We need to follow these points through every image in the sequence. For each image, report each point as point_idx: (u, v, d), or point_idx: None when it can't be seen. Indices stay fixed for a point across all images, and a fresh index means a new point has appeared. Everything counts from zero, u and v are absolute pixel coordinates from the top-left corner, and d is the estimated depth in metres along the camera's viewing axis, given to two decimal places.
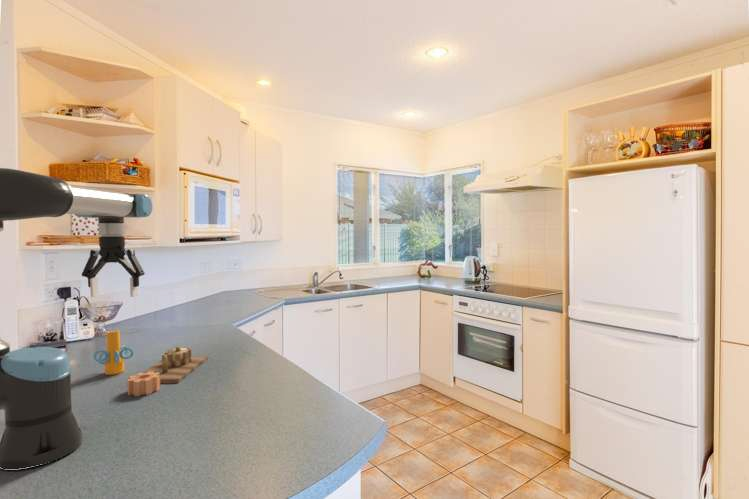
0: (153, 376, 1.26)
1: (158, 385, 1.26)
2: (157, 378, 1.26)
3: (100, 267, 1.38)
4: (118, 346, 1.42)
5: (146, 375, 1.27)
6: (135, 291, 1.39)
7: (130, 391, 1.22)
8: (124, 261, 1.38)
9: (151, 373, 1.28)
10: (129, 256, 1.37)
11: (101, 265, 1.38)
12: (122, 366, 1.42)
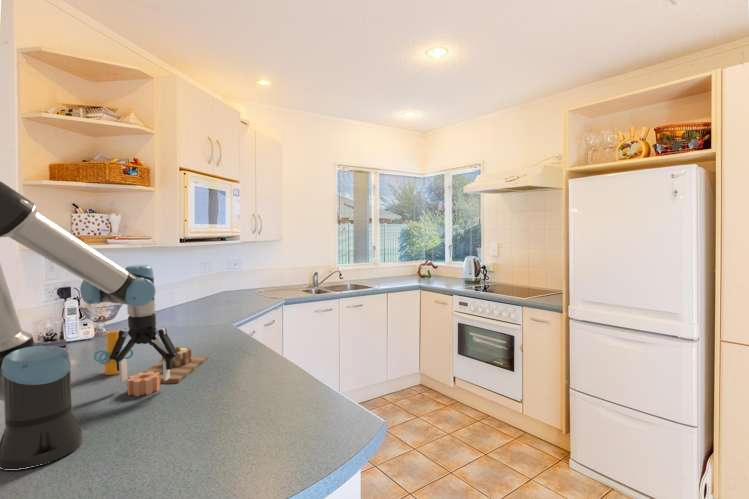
0: (153, 376, 1.26)
1: (158, 385, 1.26)
2: (157, 378, 1.26)
3: (129, 348, 1.26)
4: None
5: (146, 375, 1.27)
6: (168, 373, 1.27)
7: (130, 391, 1.22)
8: (156, 342, 1.25)
9: (151, 373, 1.28)
10: (161, 337, 1.24)
11: (130, 346, 1.25)
12: None
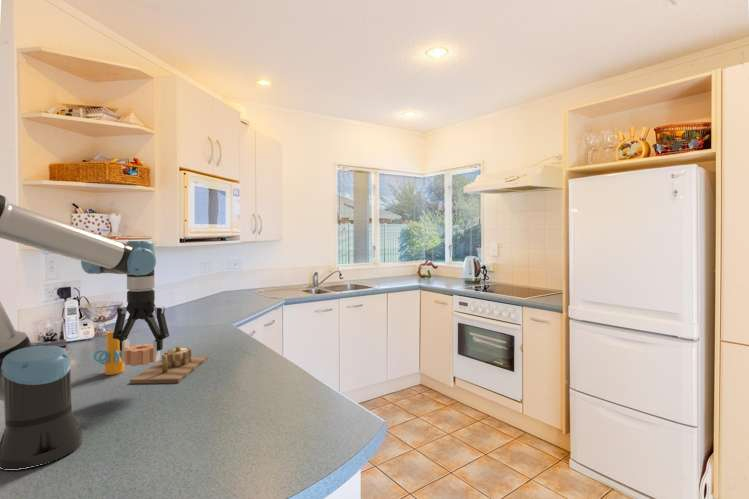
0: (150, 347, 1.25)
1: None
2: None
3: (131, 326, 1.25)
4: (118, 346, 1.42)
5: (143, 347, 1.27)
6: (158, 355, 1.25)
7: (127, 361, 1.21)
8: (151, 320, 1.24)
9: (148, 345, 1.28)
10: (158, 315, 1.24)
11: (131, 323, 1.24)
12: (122, 366, 1.42)
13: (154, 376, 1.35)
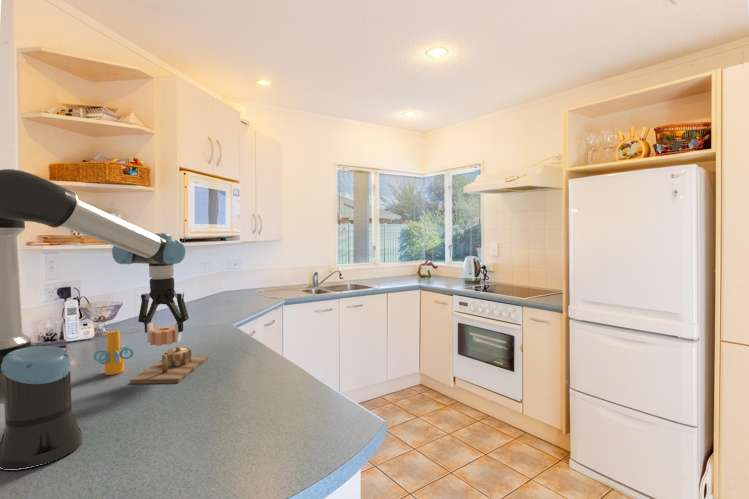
0: (172, 329, 1.38)
1: None
2: None
3: (154, 310, 1.38)
4: (118, 346, 1.42)
5: (166, 328, 1.40)
6: (179, 336, 1.39)
7: (152, 341, 1.35)
8: (172, 304, 1.38)
9: (170, 327, 1.41)
10: (178, 300, 1.37)
11: (154, 308, 1.38)
12: (122, 366, 1.42)
13: (154, 376, 1.35)
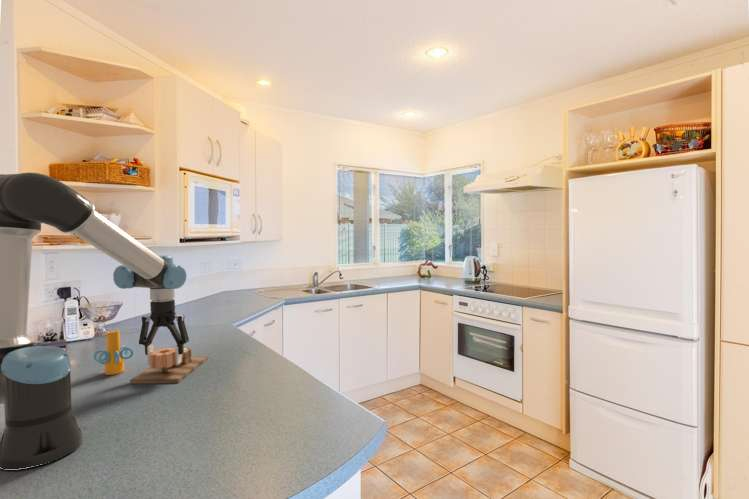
0: (173, 351, 1.39)
1: None
2: None
3: (154, 332, 1.38)
4: (118, 346, 1.42)
5: (166, 350, 1.40)
6: (180, 358, 1.39)
7: (152, 364, 1.35)
8: (173, 327, 1.38)
9: (171, 349, 1.41)
10: (179, 323, 1.37)
11: (155, 330, 1.38)
12: (122, 366, 1.42)
13: (154, 376, 1.35)
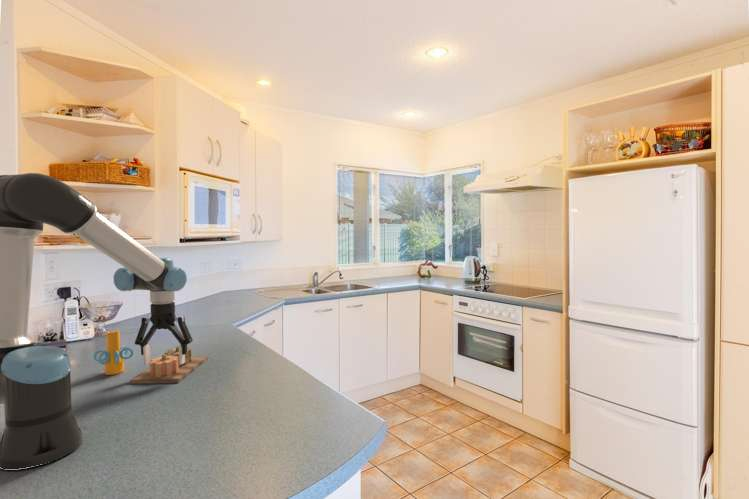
0: (173, 359, 1.39)
1: (177, 367, 1.39)
2: (176, 361, 1.39)
3: (152, 334, 1.38)
4: (118, 346, 1.42)
5: None
6: (183, 358, 1.39)
7: (152, 372, 1.35)
8: (174, 328, 1.38)
9: (170, 357, 1.41)
10: (180, 324, 1.37)
11: (153, 332, 1.38)
12: (122, 366, 1.42)
13: (154, 376, 1.35)
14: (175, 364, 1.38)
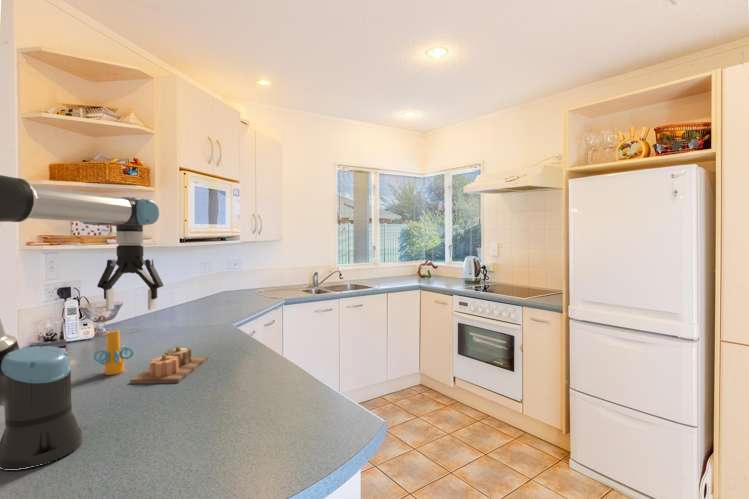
0: (173, 359, 1.39)
1: (177, 367, 1.39)
2: (176, 361, 1.39)
3: (117, 278, 1.30)
4: (118, 346, 1.42)
5: None
6: (153, 304, 1.31)
7: (152, 372, 1.35)
8: (142, 272, 1.30)
9: (170, 357, 1.41)
10: (147, 266, 1.29)
11: (118, 276, 1.30)
12: (122, 366, 1.42)
13: (154, 376, 1.35)
14: (175, 364, 1.38)
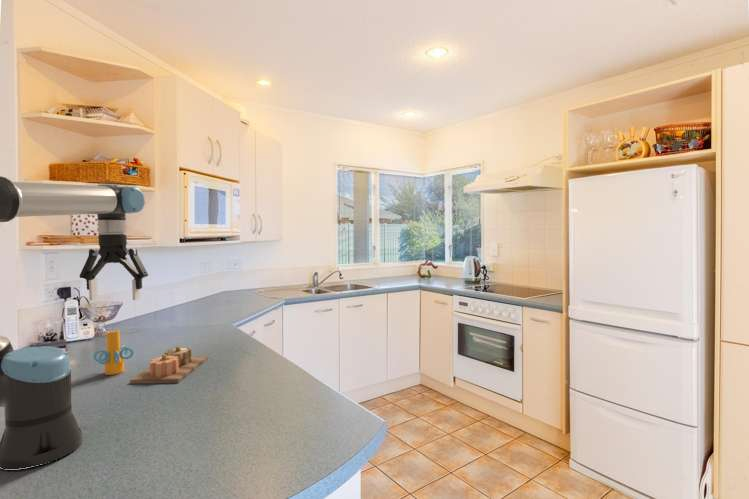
0: (173, 359, 1.39)
1: (177, 367, 1.39)
2: (176, 361, 1.39)
3: (100, 268, 1.27)
4: (118, 346, 1.42)
5: None
6: (138, 294, 1.28)
7: (152, 372, 1.35)
8: (126, 261, 1.27)
9: (170, 357, 1.41)
10: (131, 256, 1.26)
11: (101, 266, 1.27)
12: (122, 366, 1.42)
13: (154, 376, 1.35)
14: (175, 364, 1.38)
